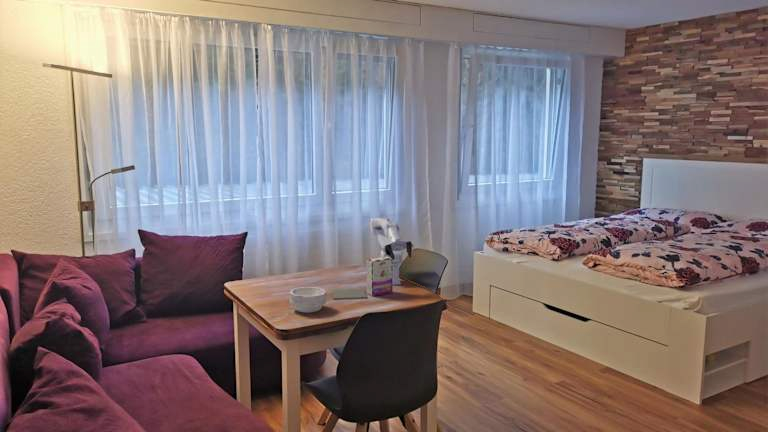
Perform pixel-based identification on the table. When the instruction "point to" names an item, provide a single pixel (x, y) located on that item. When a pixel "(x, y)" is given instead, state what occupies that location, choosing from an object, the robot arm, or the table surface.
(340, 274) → the table surface
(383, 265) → the candy bar box
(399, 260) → the robot arm
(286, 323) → the table surface
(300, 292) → the paper bowls
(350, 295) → the mat
